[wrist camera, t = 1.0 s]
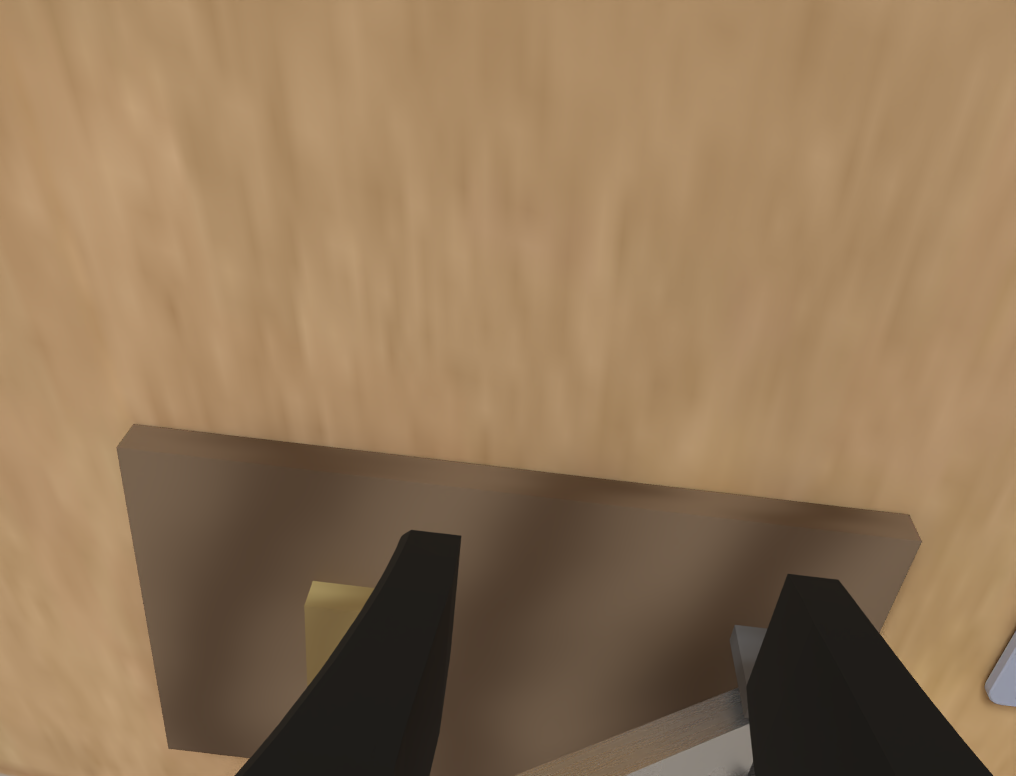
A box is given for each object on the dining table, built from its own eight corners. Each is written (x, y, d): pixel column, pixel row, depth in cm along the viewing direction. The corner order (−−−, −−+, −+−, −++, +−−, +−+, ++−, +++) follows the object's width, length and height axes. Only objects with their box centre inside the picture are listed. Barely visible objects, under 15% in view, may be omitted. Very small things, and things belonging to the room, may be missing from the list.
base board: (909, 514, 23) (958, 617, 20) (785, 792, 29) (808, 901, 26) (133, 423, 23) (68, 513, 20) (180, 721, 29) (136, 822, 26)
